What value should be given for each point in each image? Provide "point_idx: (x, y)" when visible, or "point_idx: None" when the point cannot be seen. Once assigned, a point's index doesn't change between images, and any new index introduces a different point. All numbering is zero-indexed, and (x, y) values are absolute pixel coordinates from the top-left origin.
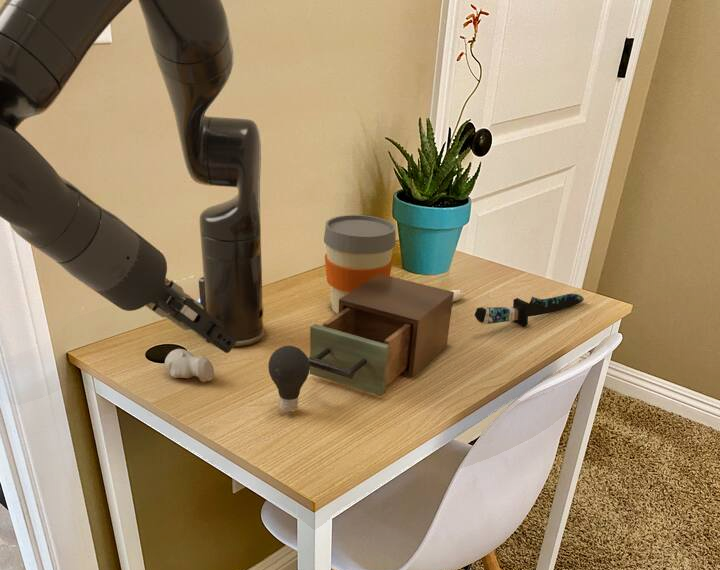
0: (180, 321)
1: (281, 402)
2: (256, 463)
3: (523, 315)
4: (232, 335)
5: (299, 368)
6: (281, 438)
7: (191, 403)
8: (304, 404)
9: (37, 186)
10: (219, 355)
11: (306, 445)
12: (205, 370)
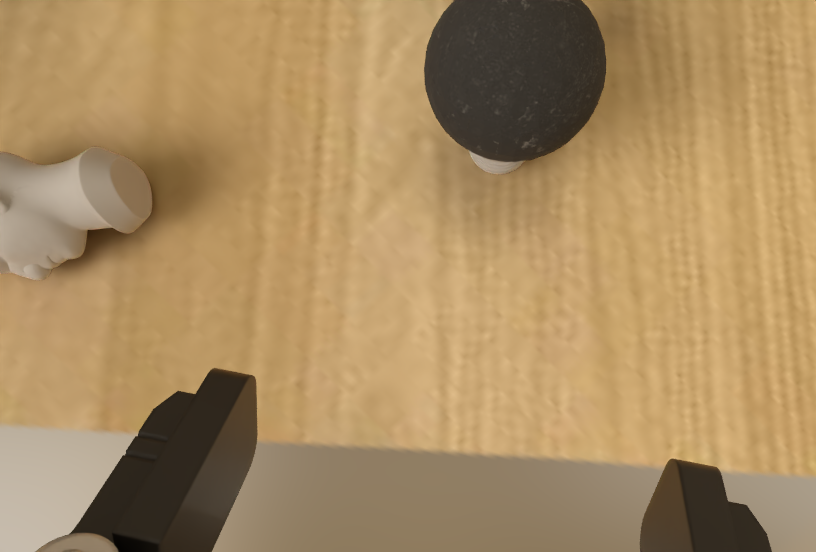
0: (210, 548)
1: (491, 164)
2: (653, 462)
3: None
4: (727, 507)
5: (602, 77)
6: (599, 292)
7: (204, 340)
8: None
9: None
10: (38, 41)
11: (691, 266)
12: (131, 202)
